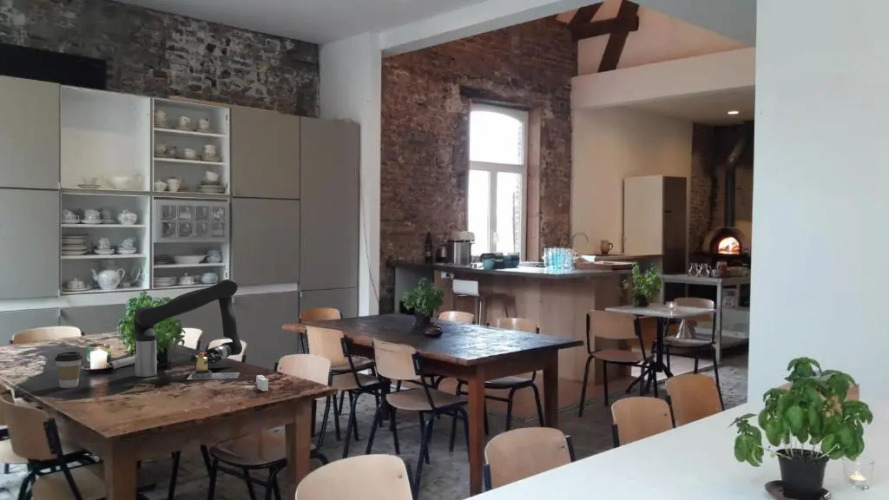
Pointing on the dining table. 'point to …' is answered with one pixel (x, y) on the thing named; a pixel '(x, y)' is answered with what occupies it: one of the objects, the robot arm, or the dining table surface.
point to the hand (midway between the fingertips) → (199, 360)
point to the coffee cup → (68, 368)
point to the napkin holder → (262, 383)
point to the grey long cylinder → (122, 362)
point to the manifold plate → (212, 375)
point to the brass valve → (202, 363)
